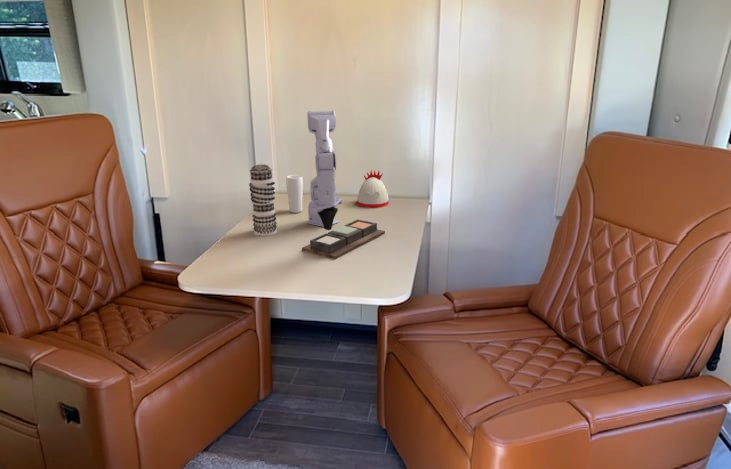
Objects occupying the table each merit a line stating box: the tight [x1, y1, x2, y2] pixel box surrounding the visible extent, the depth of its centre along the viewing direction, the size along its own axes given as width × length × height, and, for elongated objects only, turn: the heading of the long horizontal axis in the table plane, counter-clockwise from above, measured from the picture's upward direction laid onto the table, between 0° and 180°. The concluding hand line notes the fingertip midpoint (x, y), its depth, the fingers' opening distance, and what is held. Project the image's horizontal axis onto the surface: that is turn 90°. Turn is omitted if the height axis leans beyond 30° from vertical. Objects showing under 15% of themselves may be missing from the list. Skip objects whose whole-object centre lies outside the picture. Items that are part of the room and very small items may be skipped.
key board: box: [301, 219, 386, 260], centre depth 183 cm, size 14×30×4 cm, turn 146°
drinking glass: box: [285, 174, 304, 214], centre depth 216 cm, size 7×7×15 cm
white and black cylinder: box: [248, 164, 278, 237], centre depth 190 cm, size 9×9×25 cm
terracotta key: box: [350, 222, 372, 229], centre depth 190 cm, size 6×6×2 cm
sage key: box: [331, 225, 358, 236], centre depth 183 cm, size 6×6×2 cm
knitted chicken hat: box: [356, 169, 390, 209], centre depth 227 cm, size 14×14×15 cm
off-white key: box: [316, 236, 340, 244], centre depth 176 cm, size 6×6×2 cm
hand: (327, 229), depth 174 cm, fingers closed
